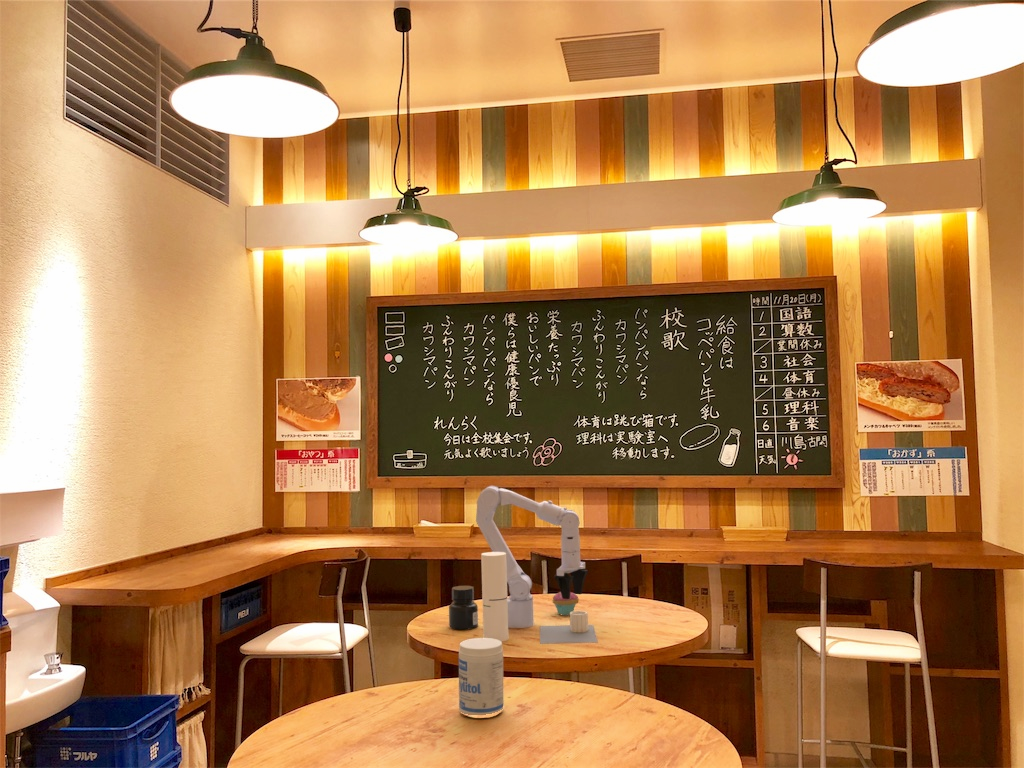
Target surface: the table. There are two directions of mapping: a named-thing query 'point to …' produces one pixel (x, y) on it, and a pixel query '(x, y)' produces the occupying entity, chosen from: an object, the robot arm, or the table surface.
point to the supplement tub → (480, 676)
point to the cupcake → (565, 603)
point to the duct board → (566, 635)
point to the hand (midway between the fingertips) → (572, 596)
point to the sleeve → (579, 621)
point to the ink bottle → (463, 609)
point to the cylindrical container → (494, 595)
